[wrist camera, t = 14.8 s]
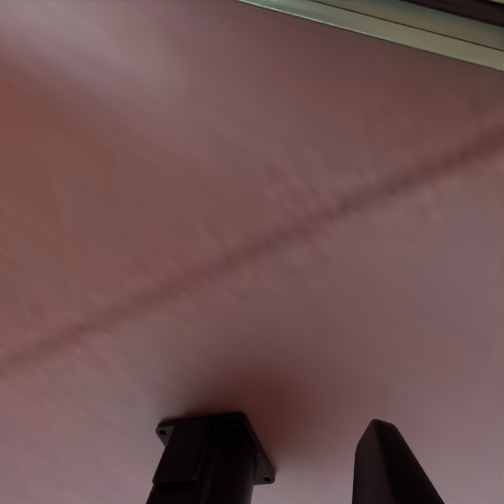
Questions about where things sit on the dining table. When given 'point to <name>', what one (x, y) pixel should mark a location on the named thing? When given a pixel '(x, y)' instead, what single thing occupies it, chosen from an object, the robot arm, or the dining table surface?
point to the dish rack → (412, 24)
